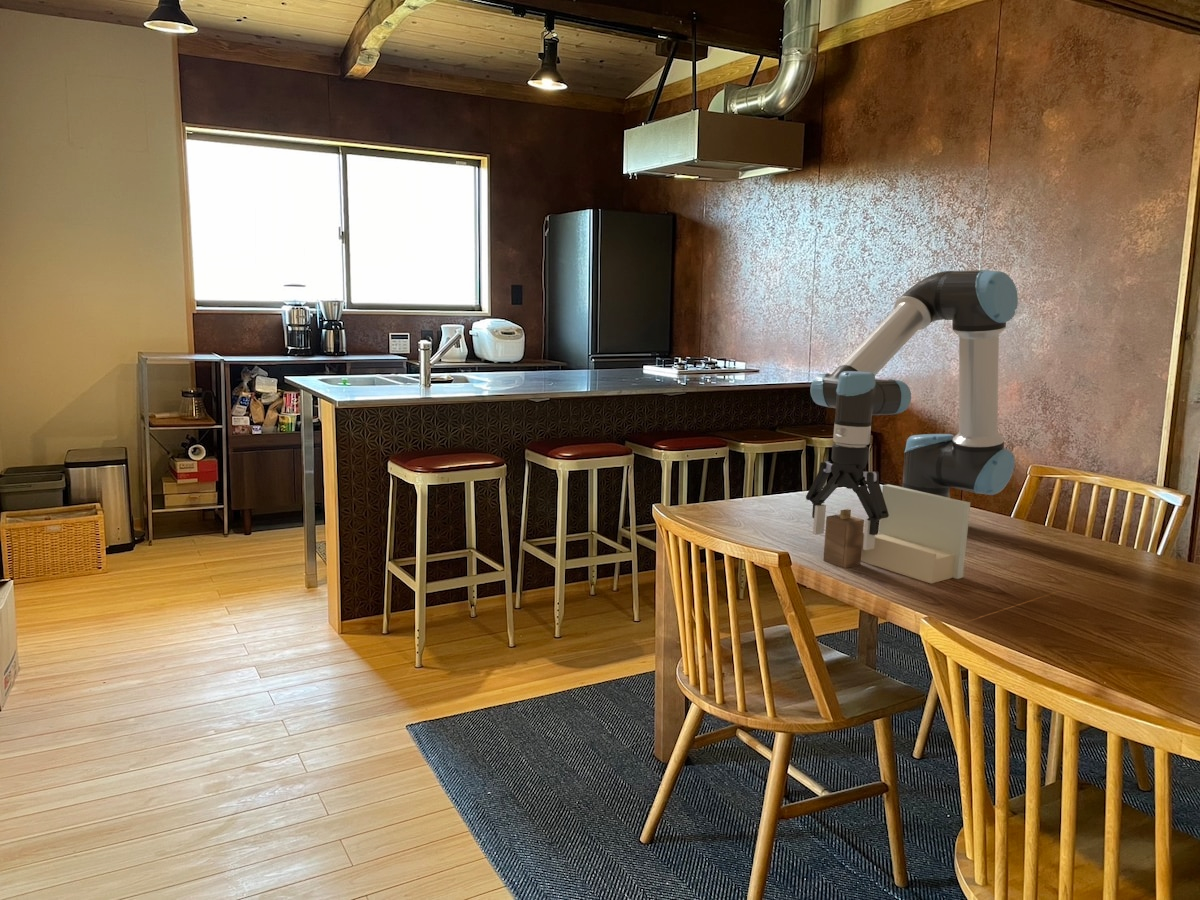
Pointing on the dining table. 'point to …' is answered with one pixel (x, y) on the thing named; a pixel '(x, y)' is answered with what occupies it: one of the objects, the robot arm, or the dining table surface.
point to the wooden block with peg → (843, 539)
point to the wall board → (920, 535)
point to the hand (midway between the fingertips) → (842, 541)
